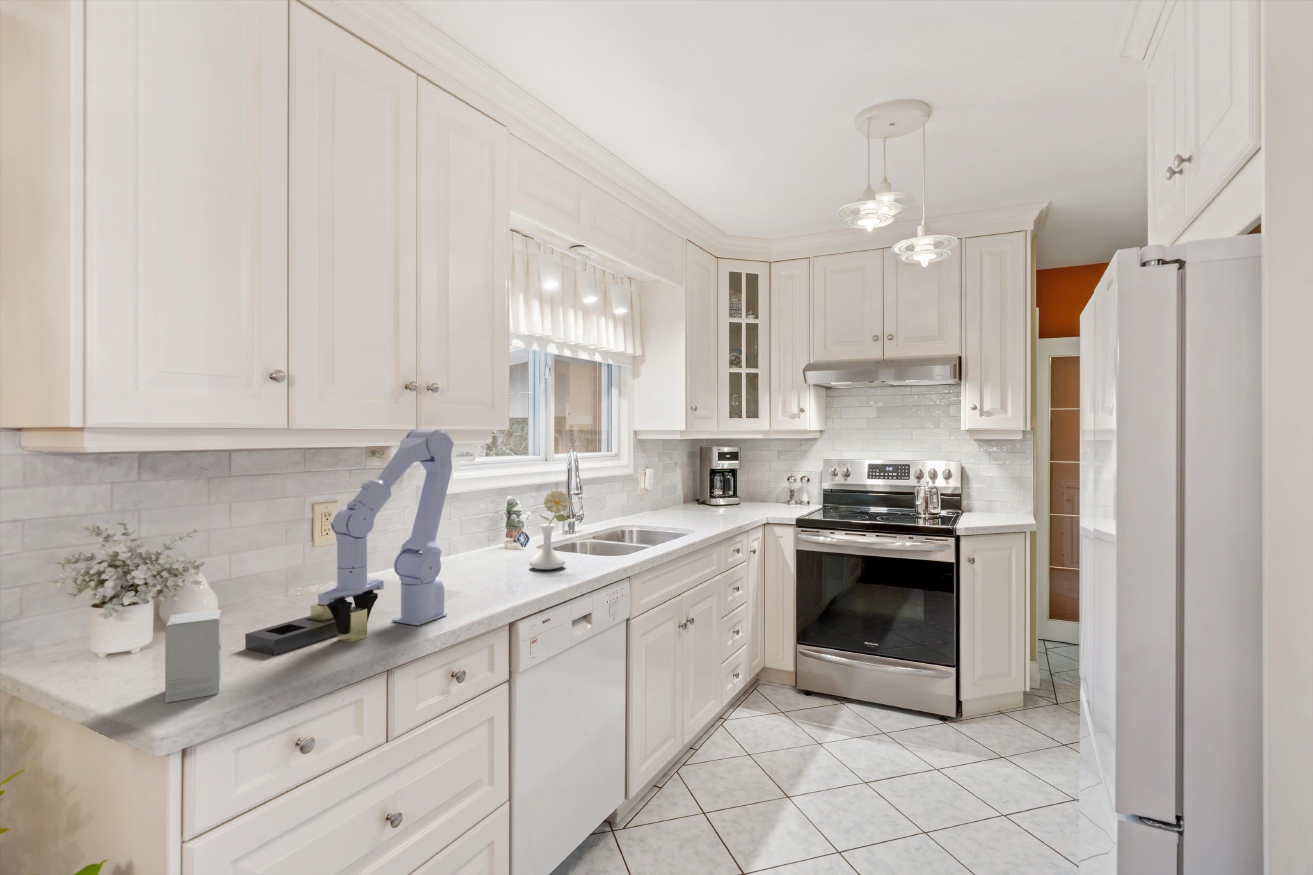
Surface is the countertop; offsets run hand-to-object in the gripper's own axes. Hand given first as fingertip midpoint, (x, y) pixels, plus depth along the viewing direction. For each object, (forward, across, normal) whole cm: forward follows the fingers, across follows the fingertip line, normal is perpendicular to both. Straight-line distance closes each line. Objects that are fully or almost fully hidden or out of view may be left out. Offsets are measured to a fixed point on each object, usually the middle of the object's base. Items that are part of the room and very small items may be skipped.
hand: (352, 630), depth 137 cm
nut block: (+2, 0, 0) cm, 2 cm away
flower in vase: (+2, -76, -3) cm, 76 cm away
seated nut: (+2, 0, -9) cm, 9 cm away
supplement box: (+2, +31, 0) cm, 31 cm away
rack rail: (+2, +4, -9) cm, 10 cm away
